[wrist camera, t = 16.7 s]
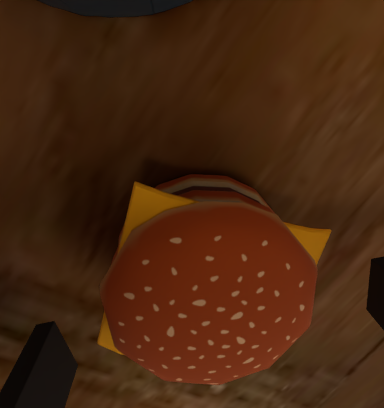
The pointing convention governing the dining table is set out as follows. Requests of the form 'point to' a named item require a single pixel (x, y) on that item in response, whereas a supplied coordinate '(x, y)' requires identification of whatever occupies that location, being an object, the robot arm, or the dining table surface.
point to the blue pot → (115, 6)
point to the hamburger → (207, 281)
